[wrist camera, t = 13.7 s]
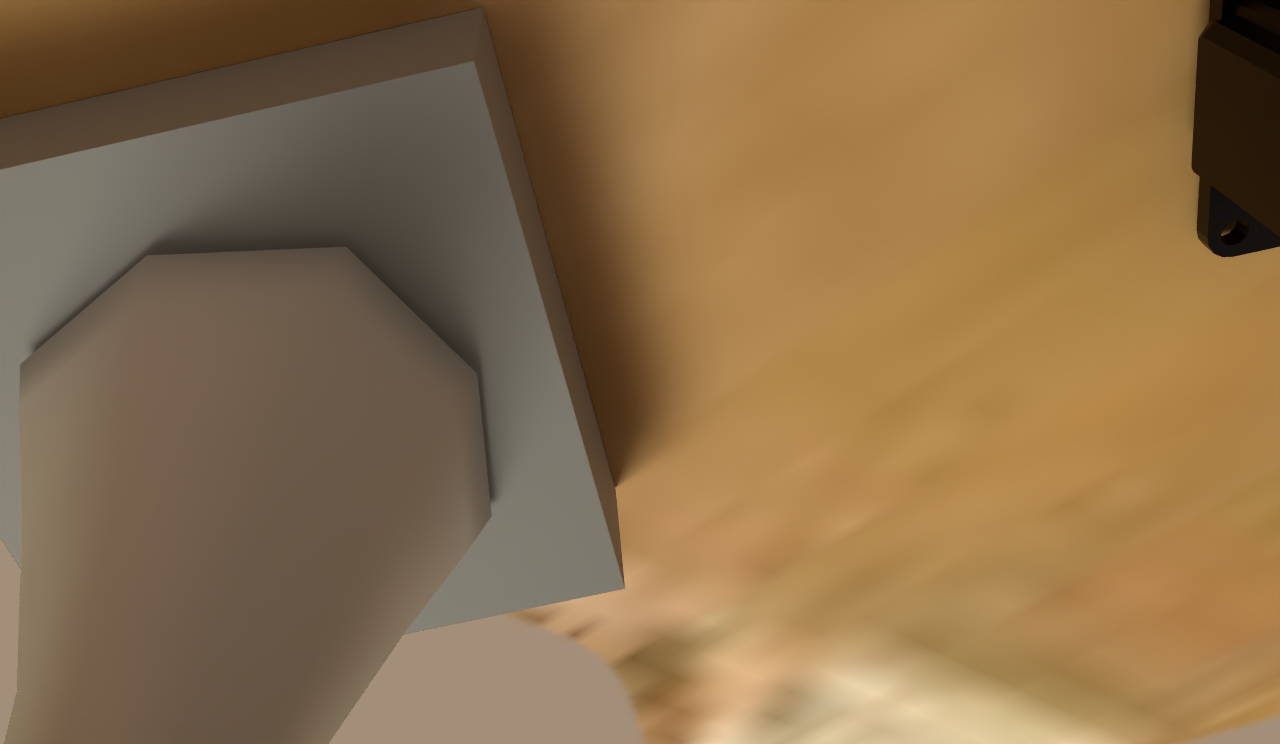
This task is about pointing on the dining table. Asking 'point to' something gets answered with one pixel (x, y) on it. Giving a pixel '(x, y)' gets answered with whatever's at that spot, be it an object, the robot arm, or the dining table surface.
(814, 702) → the dining table surface
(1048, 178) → the dining table surface
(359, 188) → the dock
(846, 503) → the dining table surface
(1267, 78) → the robot arm
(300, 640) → the flask
